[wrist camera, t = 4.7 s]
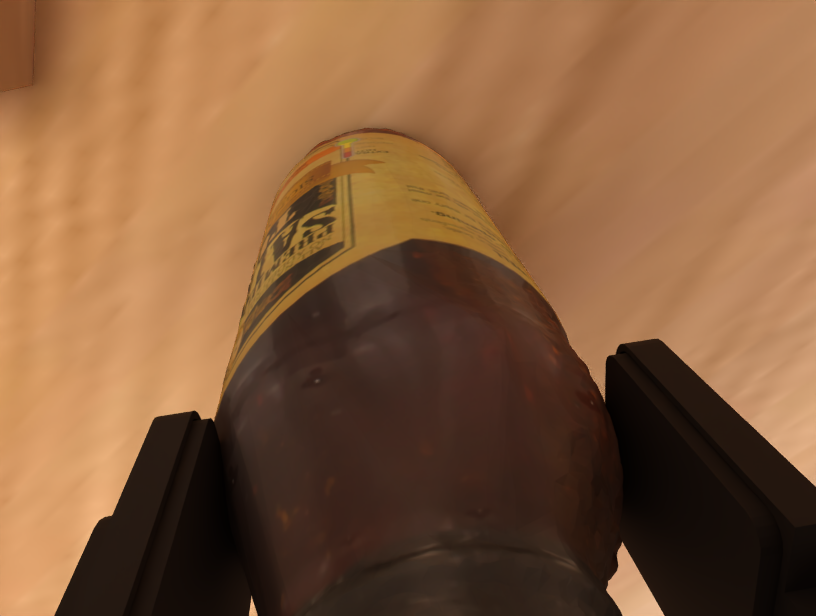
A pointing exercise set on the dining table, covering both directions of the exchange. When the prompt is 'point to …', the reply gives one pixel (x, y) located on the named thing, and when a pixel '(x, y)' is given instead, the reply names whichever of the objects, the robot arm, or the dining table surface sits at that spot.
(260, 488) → the sauce bottle
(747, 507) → the robot arm
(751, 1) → the dining table surface
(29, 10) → the beech block
